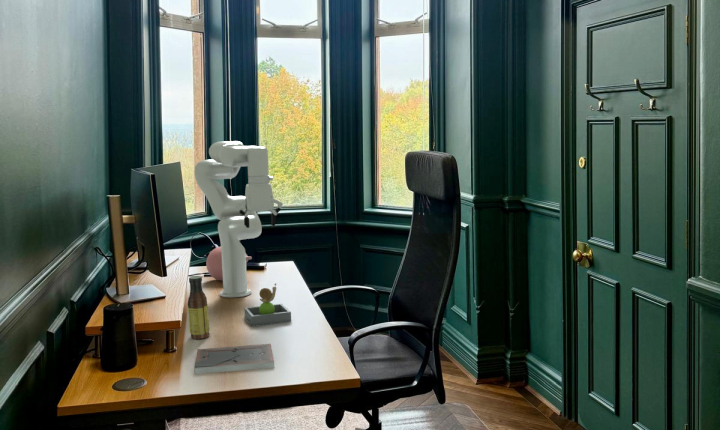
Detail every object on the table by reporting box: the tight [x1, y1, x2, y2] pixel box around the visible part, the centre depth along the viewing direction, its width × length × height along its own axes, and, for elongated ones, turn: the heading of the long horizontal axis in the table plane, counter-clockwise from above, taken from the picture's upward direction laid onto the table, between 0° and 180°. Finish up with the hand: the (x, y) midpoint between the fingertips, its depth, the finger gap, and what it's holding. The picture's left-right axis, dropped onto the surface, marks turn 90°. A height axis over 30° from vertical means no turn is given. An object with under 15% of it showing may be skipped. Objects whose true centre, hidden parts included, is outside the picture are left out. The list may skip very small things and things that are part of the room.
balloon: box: [205, 246, 253, 282], centre depth 307 cm, size 15×20×15 cm
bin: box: [243, 303, 292, 327], centre depth 242 cm, size 13×14×4 cm
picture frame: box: [194, 343, 275, 375], centre depth 199 cm, size 16×2×22 cm
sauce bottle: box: [187, 275, 211, 340], centre depth 222 cm, size 7×6×20 cm
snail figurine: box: [259, 283, 277, 315], centre depth 242 cm, size 5×6×12 cm
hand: (260, 226), depth 257 cm, fingers open, 9 cm apart
